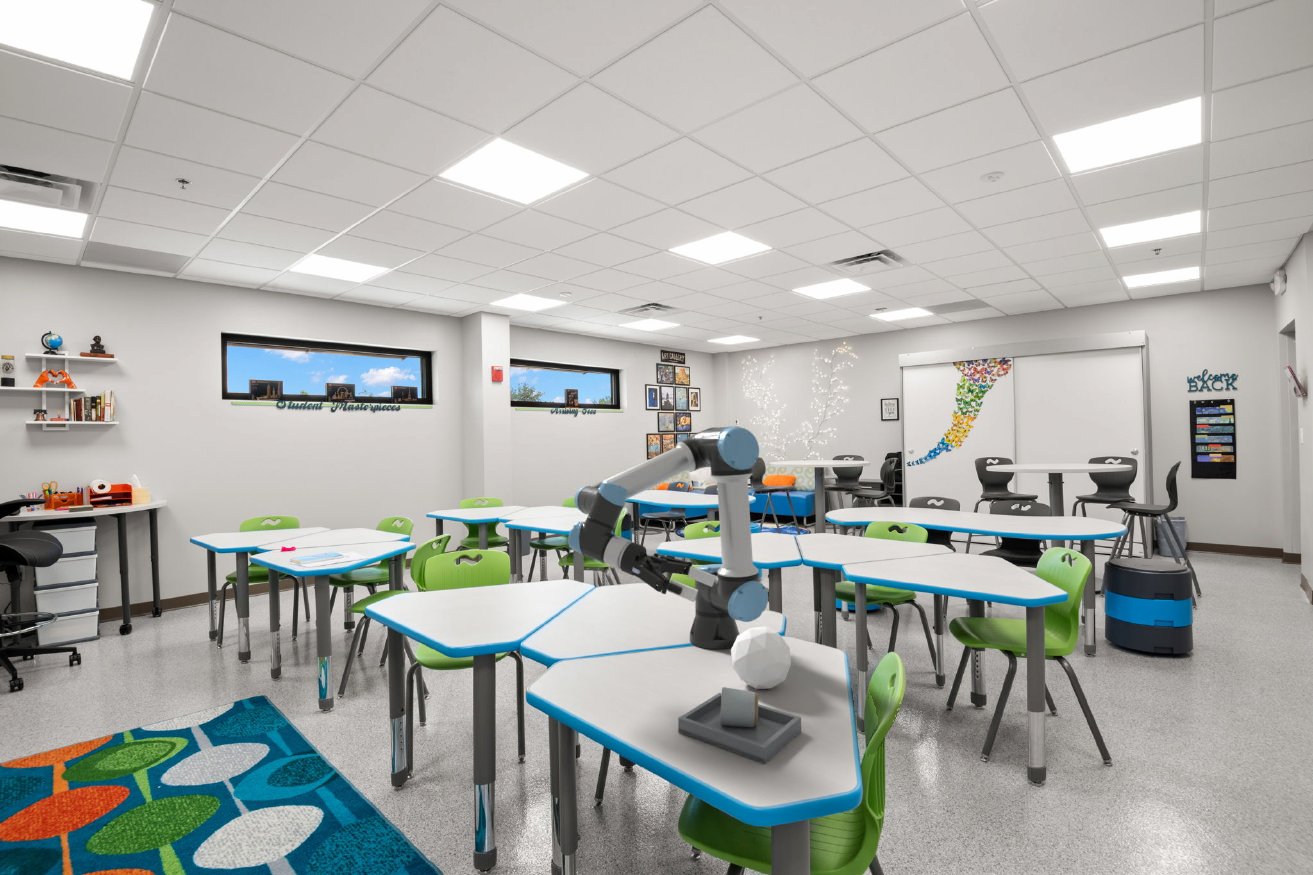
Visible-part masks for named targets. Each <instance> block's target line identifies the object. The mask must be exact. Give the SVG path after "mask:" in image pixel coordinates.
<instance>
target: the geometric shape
mask: <svg viewBox="0 0 1313 875" xmlns="http://www.w3.org/2000/svg"><path fill="white" fill-rule="evenodd" d="M739 634H740V635H738V636H737V639H736V641H735V643H734V645H733V647H731V649H730V655H731V656H730V657H731V663H732V664H731V666H732V668H733V670H734V671H735V673H736V675H737V677H738V678H739V679H740V681H743V682H744V683H746V684H747V685H749V686H750V687H752V688H753V689H755V690H765V689H773V688H774V687H775V686H777V685H779V684H781V683H782V682H784V681H785V680H786V678H787V675H788V673H789V670H790V669H791V666H792V658H791V649H790V648H791V647H790V646H789V645H788V644H787V643H786V640H784V638H783V637H782V635H781V634H780V633H778V632H776V631H775V630H773V629H771V628H770V627H768V626H759V627H758V626H757V627H750V628H749V629H746V630H745V631H743V632H742V633H739Z"/></svg>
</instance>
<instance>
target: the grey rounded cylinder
mask: <svg viewBox="0 0 1313 875" xmlns="http://www.w3.org/2000/svg"><path fill="white" fill-rule="evenodd" d="M721 693H722V694H721V714H720V725H724V726H738V727H755V726H756V725H757V723H758V704H759V695H758V693H757V692H754V691H751V690H746V689H744V690H743V689H737V688H731V687H725V686H724V687H721Z"/></svg>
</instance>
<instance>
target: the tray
mask: <svg viewBox="0 0 1313 875" xmlns="http://www.w3.org/2000/svg"><path fill="white" fill-rule="evenodd" d="M721 694H722V692H718V693H717V694H715V695H713V696H712V697H709V698H708V699H707V700H705V701H703V702H702V703H700V704H699V705H697V706H696V707H694V708H692V709H691V710H689V711H687V712H686V713H685V714H682V715H681V716H679V717H678V718H677V719H678V720H677V723H678V726H677V728H678V729H677V730H678V733H679V734H681V735H684V736H687V737H690V738H692V739H695V740H698V741H701V742H704V743H706V744H709V745H712V746H714V747H717V748H720V749H723V750H725V751H727V752H731V753H734V754H737V755H739V756H742V757H744V758H747V759H750V760H752V761H755V762H758V763H760V764H764V765H765V764H767V762H769V761H770V760H771V759H772V758H773V757H774V756H775V755H777V754H778V753H779V752H780V751H781V750H782V749H783V748H785V747H786V746H787V745H788V744H789V743H790V742H792V740H794V738H796V737H797V736H798V735H799V734H800V733H801V732H802V716H798V715H796V714H792V713H789V712H785V711H781V710H778V709H775V708H771V707H768V706H765V705H761V704H759V703H758V723H757V725H756V726H755V727H738V726H724V725H720V714H721Z"/></svg>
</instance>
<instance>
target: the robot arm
mask: <svg viewBox="0 0 1313 875" xmlns="http://www.w3.org/2000/svg"><path fill="white" fill-rule="evenodd" d="M759 447H760V446H759V443H758V439H757V438H756V436H755V435H754V434H753V433H752V432H751V431H750V429H749V430H748V429H746V428H744V427H741V426H740V427H739V426H736V425H735V426H733V425H732V426H723V427H722V426H720V427H718V426H717V427H708V428H706V429H704V430H701V431H700V432H697V433H695V434H693V435H691V436H688V437H687V438H685V439H683V440H681V441H679V442H677V443H676V445H675V447H673V448H671V449H670V450H667V451H665V452H663V453H661V454H658V455H657V456H654V457H653V458H650V459H648V460H646V461H643V462H641V463H639V464H636V465H635V466H633V467H630V468H628V469H626V470H624V471H622V472H619V473H617V474H615V475H613V476H611V477H609V478H605V479H604V480H602V481H599V482H598V483H596V484H594V485H593V484H592V485H586V486H583V487H581V488H579V489H578V490H577V491H576V493H575V495H574V505H575V507H576V508H577V509H578V510H579V511H580V512H581V513H583V514H585V515H587V517H586V519H585V521H577V522H576V523H574V525H573V526H572V528H571V529H570V531H569V533H568V540H567V544H568V546H569V548H570V549H571V550H573V551H575V552H578V553H579V554H581V555H583V556H586V557H587V558H590V559H593V560H595V561H598V562H600V563H603V564H605V565H608V566H609V567H610V568H611V569H617V570H621V572H624V573H626V574H628V575H631V576H634V577H637V578H638V579H640V580H641V581H642V582H643V583H645V584H647V585H648V586H650V587H651V588H652V589H653V590H655V591H656V592H658V593H661V594H662V595H667V592H669V593H671V594H674V595H676V596H678V597H681V598H683V599H686V600H688V601H691V602H693V603H694V602H695V603H694V605H695V613H694V614H695V616H694V618H693V621H692V624H691V628H690V631H689V642H690V644H691V645H693V646H696V647H698V648H703V649H709V650H723V649H730V648H731V649H732V647H733V645H734V643H735V641H736V639H737V636H738V635H740V634H741V633H740V631H739V628H738V624H737V621H740V622H745V623H751V622H754V621H755V620H756V619H758V618H760V616H762V614H763V612H765V610H766V608H767V606H768V602H769V592H768V590H767V588H766V586H764V584H763V583H762V582H760V571H759V570H760V569H759V568H757V567H756V566H755V565H754V564H753V563H754V562H753V560H754V559H753V545H752V531H751V530H752V529H751V515H750V511H751V510H750V497H749V484H748V483H749V479H750V478H751V476H753V472H754V471H753V466H755V464H756V461H758V459H759V456H760V448H759ZM704 468H710V476H711V477H712V479H714V480H715V482H716V484H717V488H716V489H717V501H718V503H717V504H718V515H719V516H718V517H719V518H718V519H719V532H720V536H719V537H720V547H721V563H713V564H712V563H711V564H704V565H700V566H697V567H694V566H693V565H694V564H693V562H692V561H686V560H683V559H678V558H674V557H669V556H665V555H662V554H659V553H656V552H655V553H654V554H653V555H648V554H647V548H646V546H644V545H641V544H639V543H636V542H634V541H633V542H632V541H631V540H629V539H627V538H625V537H622V536H619V535H616V534H613V533H614V530H615V528H616V525H617V522H618V520H619V518H620V516H621V513H622V511H623V509H624V506H625V505H626V501H627V500H628V499H631V498H632V497H635V496H637V495H639V494H641V493H643V492H645V491H647V490H649V489H652V488H653V487H655V486H657V485H660V484H661V483H664V482H666V481H668V480H670V479H672V478H674V477H676V476H678V475H681V474H683V473H685V472H689V473H692V472H694V471H697V470H699V469H704ZM665 573H669V574H677V575H678V574H679V575H684V576H687V578H688V579H689V578H690V579H692V580H694V581H695V582H694V586H695V588H694V587H691V586H689V585H687V584H684V583H682V582H679V581H677V580H675V579H669V578H668V577H667V576H666V575H665Z"/></svg>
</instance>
